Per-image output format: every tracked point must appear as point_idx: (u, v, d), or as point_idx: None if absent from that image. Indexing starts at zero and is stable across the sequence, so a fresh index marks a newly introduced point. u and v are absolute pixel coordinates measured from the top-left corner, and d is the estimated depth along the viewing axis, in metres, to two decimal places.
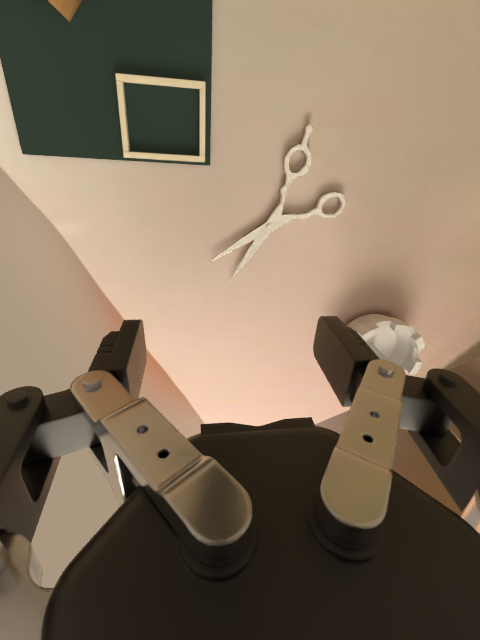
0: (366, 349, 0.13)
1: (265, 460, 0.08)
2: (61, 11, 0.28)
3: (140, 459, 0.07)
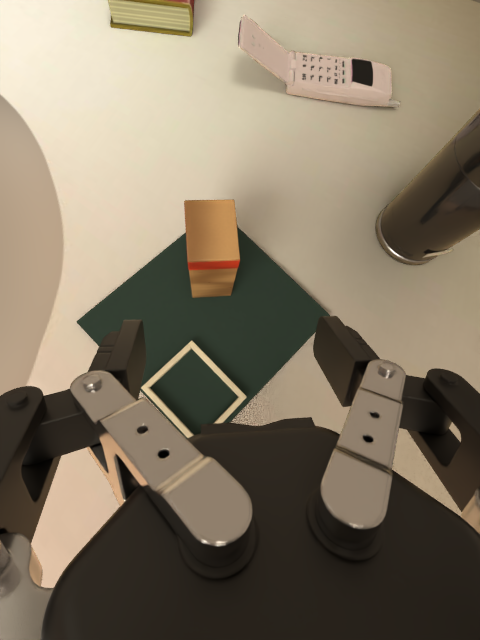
0: (366, 349, 0.13)
1: (265, 460, 0.08)
2: (193, 291, 0.36)
3: (140, 459, 0.07)
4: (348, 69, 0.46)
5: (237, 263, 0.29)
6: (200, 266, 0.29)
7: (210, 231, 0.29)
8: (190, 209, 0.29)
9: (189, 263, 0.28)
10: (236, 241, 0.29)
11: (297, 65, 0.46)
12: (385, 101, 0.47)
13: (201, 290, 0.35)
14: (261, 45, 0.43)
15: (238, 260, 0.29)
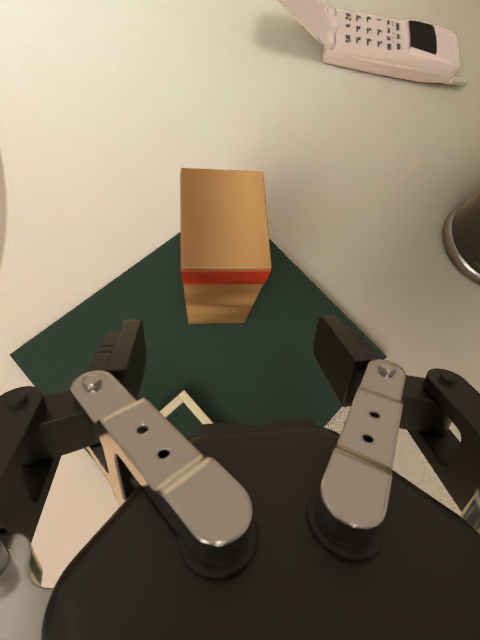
0: (366, 349, 0.13)
1: (265, 460, 0.08)
2: (189, 315, 0.24)
3: (140, 459, 0.07)
4: (404, 33, 0.36)
5: (265, 276, 0.17)
6: (202, 279, 0.17)
7: (221, 220, 0.17)
8: (189, 182, 0.17)
9: (183, 272, 0.16)
10: (265, 238, 0.17)
11: (339, 24, 0.35)
12: (450, 76, 0.36)
13: (202, 314, 0.23)
14: None
15: (268, 271, 0.17)
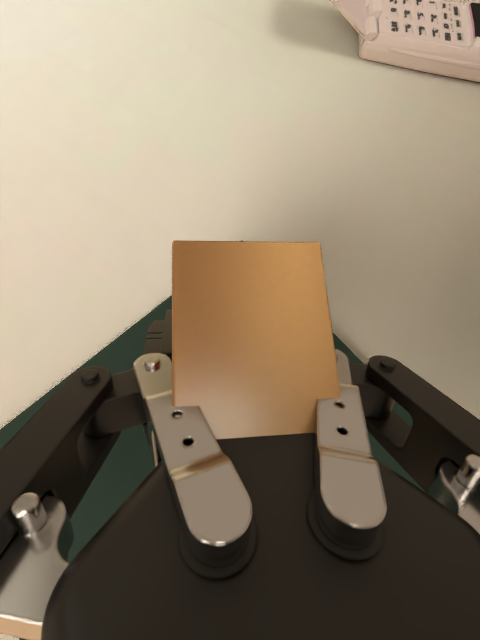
0: None
1: (265, 460, 0.08)
2: None
3: (166, 441, 0.07)
4: (464, 19, 0.28)
5: None
6: None
7: (249, 344, 0.09)
8: (189, 268, 0.09)
9: None
10: (333, 379, 0.09)
11: (382, 8, 0.27)
12: None
13: None
14: None
15: None
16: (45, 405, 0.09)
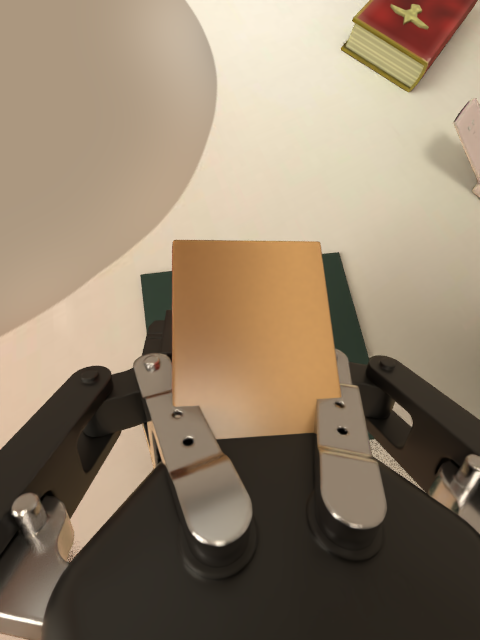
0: None
1: (265, 460, 0.08)
2: None
3: (166, 441, 0.07)
4: None
5: None
6: None
7: (250, 344, 0.09)
8: (189, 267, 0.09)
9: None
10: (334, 378, 0.09)
11: None
12: None
13: None
14: (475, 134, 0.39)
15: None
16: (45, 405, 0.09)
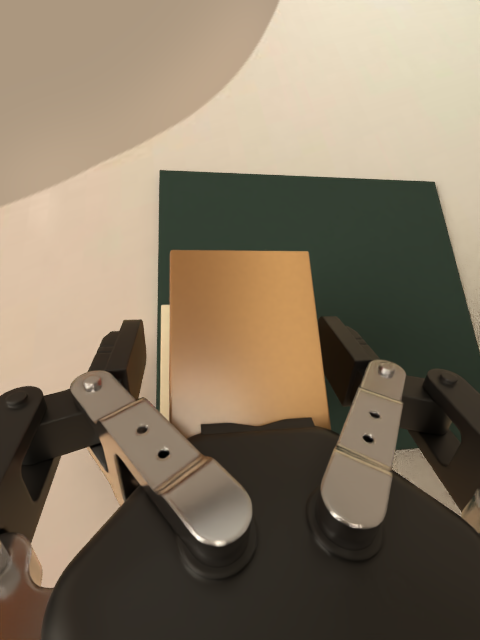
0: (366, 349, 0.13)
1: (265, 460, 0.08)
2: None
3: (140, 459, 0.07)
4: None
5: None
6: None
7: (241, 347, 0.10)
8: (186, 275, 0.10)
9: None
10: (320, 379, 0.10)
11: None
12: None
13: None
14: None
15: None
16: None
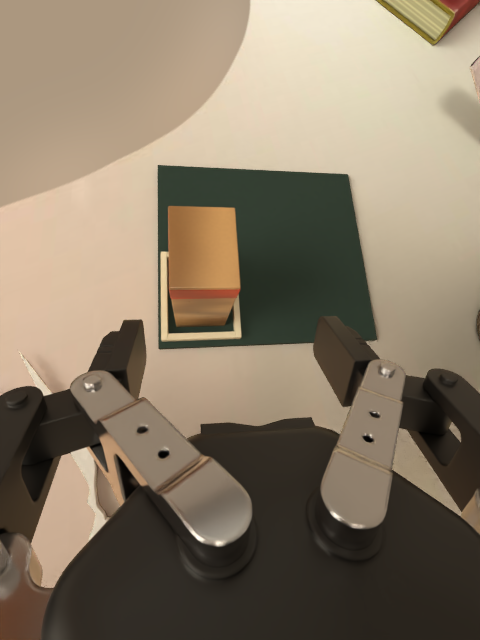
0: (366, 349, 0.13)
1: (265, 460, 0.08)
2: (176, 320, 0.28)
3: (140, 459, 0.07)
4: None
5: (236, 292, 0.22)
6: (186, 295, 0.22)
7: (201, 249, 0.21)
8: (175, 217, 0.21)
9: (171, 291, 0.21)
10: (236, 263, 0.21)
11: None
12: None
13: (188, 319, 0.28)
14: None
15: (238, 289, 0.21)
16: None
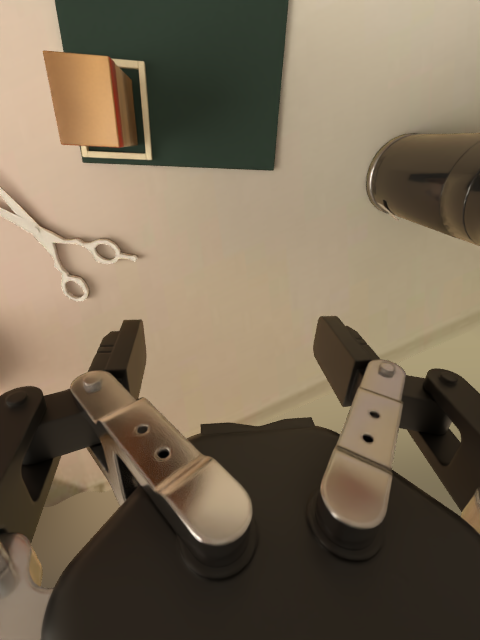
0: (366, 349, 0.13)
1: (265, 460, 0.08)
2: None
3: (140, 459, 0.07)
4: None
5: None
6: None
7: (81, 105, 0.25)
8: (52, 67, 0.24)
9: (64, 144, 0.27)
10: (114, 123, 0.26)
11: None
12: None
13: None
14: None
15: None
16: None
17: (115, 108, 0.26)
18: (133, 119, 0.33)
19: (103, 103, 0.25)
